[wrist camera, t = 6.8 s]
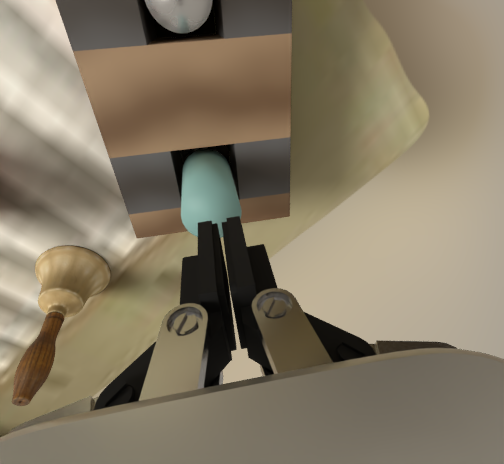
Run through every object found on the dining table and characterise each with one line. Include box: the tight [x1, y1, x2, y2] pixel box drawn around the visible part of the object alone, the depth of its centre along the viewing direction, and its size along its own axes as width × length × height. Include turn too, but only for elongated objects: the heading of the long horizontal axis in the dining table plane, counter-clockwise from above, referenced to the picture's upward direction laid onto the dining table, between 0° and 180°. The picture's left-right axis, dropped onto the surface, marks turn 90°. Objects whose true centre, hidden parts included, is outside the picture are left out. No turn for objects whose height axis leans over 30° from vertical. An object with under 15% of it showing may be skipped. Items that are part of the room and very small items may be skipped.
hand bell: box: [12, 246, 111, 406], centre depth 32 cm, size 8×8×16 cm
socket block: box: [56, 0, 292, 238], centre depth 25 cm, size 22×14×8 cm, turn 3°
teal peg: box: [181, 149, 241, 238], centre depth 24 cm, size 4×4×7 cm
